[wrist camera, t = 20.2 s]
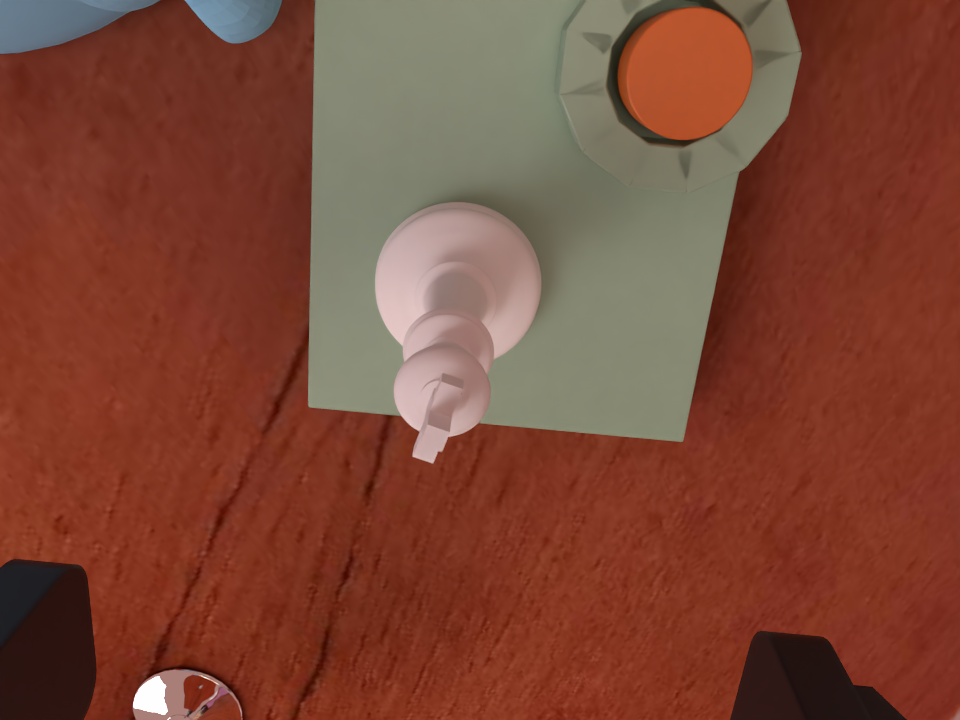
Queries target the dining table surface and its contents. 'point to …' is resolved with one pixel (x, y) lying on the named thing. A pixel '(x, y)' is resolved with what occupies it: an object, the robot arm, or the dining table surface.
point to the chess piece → (453, 312)
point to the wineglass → (185, 697)
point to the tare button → (685, 72)
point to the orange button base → (529, 195)
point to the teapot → (96, 3)
